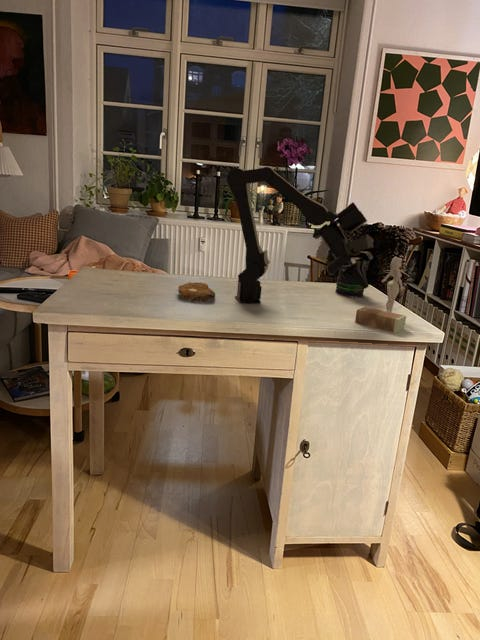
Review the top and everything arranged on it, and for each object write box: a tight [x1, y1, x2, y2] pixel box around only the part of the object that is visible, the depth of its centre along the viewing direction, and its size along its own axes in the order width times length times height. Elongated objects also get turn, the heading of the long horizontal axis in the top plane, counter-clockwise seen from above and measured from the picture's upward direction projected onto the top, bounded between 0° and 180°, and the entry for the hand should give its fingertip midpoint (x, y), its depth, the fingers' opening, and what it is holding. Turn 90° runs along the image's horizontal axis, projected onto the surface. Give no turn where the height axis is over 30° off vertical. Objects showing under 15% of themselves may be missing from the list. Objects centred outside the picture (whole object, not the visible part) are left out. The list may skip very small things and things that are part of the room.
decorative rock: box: [177, 281, 216, 303], centre depth 154 cm, size 11×4×15 cm
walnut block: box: [354, 306, 407, 334], centre depth 140 cm, size 4×6×12 cm
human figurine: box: [381, 256, 406, 312], centre depth 149 cm, size 12×4×18 cm, turn 12°
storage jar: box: [335, 250, 370, 298], centre depth 175 cm, size 10×10×15 cm
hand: (366, 287), depth 141 cm, fingers closed
